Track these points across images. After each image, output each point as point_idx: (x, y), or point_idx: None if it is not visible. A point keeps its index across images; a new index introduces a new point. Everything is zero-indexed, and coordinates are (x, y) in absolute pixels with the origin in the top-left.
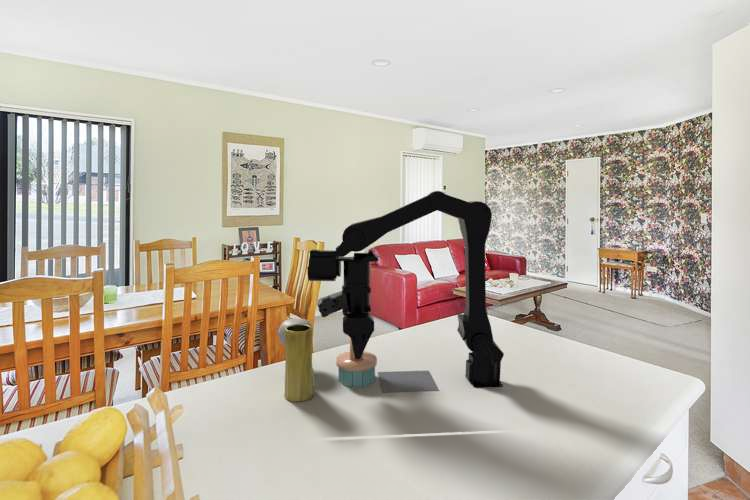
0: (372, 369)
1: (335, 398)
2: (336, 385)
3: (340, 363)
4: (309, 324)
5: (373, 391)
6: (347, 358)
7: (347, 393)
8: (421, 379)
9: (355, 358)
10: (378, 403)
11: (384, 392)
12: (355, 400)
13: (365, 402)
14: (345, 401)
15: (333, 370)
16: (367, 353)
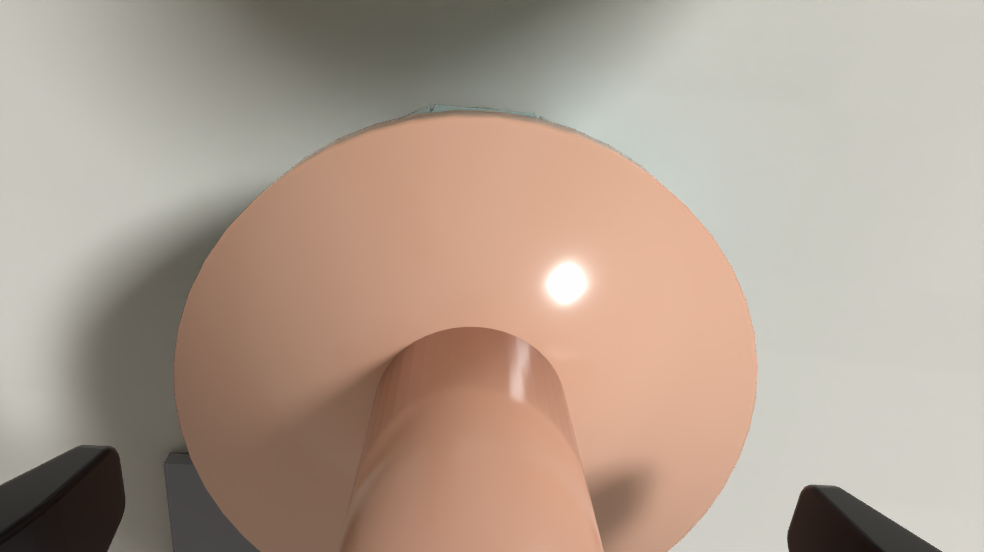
0: None
1: (75, 38)
2: (376, 74)
3: (307, 176)
4: None
5: None
6: (497, 296)
7: (189, 171)
8: None
9: (77, 451)
10: (9, 404)
11: (168, 478)
12: (47, 230)
13: (16, 309)
14: (18, 135)
15: (766, 71)
16: (621, 549)
